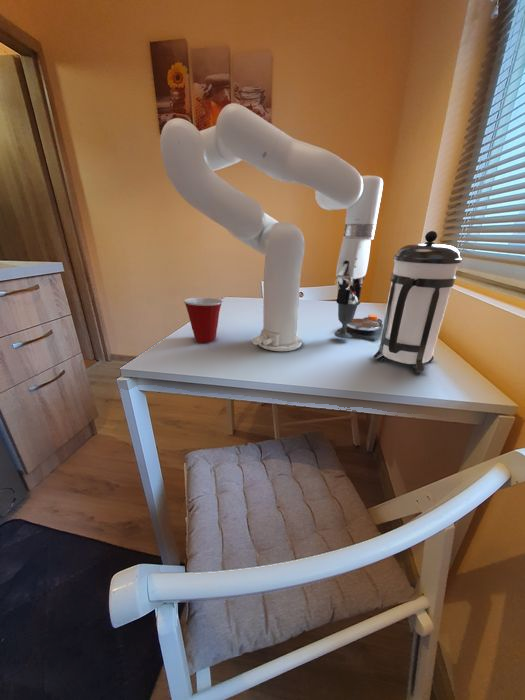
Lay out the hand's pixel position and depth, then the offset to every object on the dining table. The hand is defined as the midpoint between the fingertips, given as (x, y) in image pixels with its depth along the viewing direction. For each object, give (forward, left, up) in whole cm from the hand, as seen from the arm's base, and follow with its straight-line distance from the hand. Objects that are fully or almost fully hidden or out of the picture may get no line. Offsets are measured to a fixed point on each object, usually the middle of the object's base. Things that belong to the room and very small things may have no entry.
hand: (348, 301), depth 78 cm
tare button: (+19, -1, -10) cm, 21 cm away
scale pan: (+10, -1, -9) cm, 14 cm away
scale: (+13, -1, -12) cm, 18 cm away
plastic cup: (-27, +31, -12) cm, 42 cm away
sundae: (0, 0, -10) cm, 10 cm away
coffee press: (-4, -18, -12) cm, 22 cm away
